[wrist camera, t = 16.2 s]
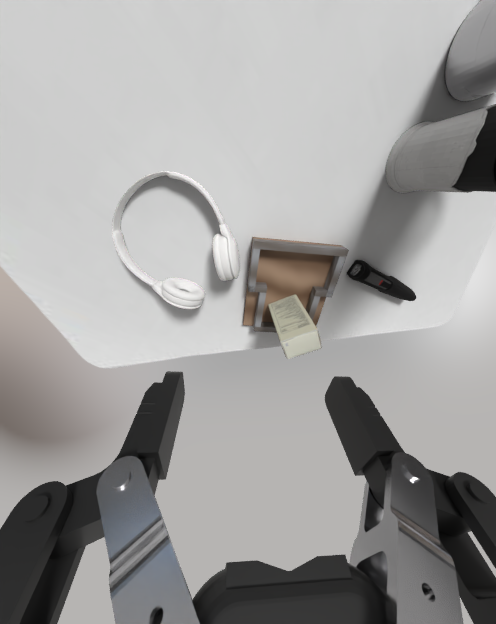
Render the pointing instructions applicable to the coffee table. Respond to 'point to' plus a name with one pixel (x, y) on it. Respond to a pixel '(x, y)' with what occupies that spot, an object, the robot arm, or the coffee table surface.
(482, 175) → the glass holder
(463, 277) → the coffee table surface
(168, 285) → the headphones
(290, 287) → the keyhole board
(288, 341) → the skincare box
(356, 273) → the electric trimmer
